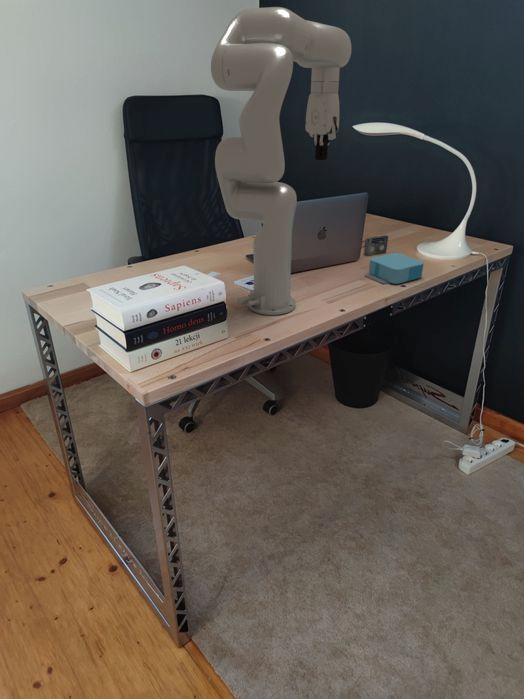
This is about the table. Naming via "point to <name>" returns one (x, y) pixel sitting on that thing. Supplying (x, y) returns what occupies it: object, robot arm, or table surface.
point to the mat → (376, 279)
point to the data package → (396, 268)
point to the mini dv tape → (375, 245)
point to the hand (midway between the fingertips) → (321, 159)
